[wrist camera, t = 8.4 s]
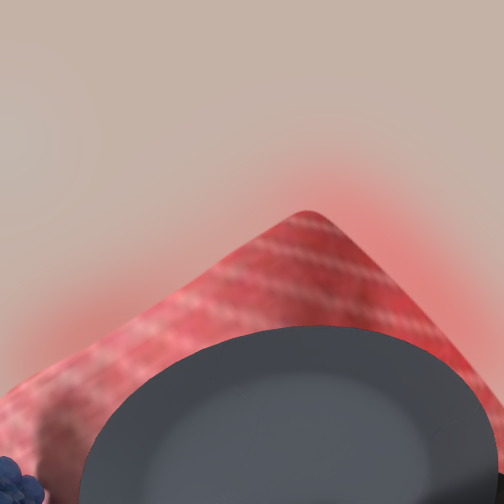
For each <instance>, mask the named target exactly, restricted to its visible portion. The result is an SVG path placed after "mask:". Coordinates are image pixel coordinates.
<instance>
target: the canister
mask: <svg viewBox="0 0 504 504" xmlns="http://www.w3.org/2000/svg"><path fill="white" fill-rule="evenodd" d="M497 484H498V454H497V447H496V442H495V438H494V433H493V430H492V427H491V425H490V422H489V419H488V417H487V414H486V412H485V410H484V409H483V407H482V405H481V403H480V402H479V400H478V398H477V397H476V395H475V394H474V392H473V391H472V390H471V389H470V388H469V386H468V385H467V384H466V383H465V381H464V380H463V379H462V378H461V377H460V376H459V375H458V374H457V373H455V372H454V371H453V370H452V369H451V368H450V367H449V366H448V365H446V364H445V363H444V362H442V361H441V360H439V359H438V358H436V357H435V356H433V355H432V354H430V353H428V352H427V351H425V350H423V349H421V348H419V347H417V346H414V345H412V344H410V343H408V342H406V341H404V340H400V339H397V338H394V337H391V336H388V335H385V334H382V333H378V332H373V331H367V330H362V329H357V328H350V327H336V326H297V327H287V328H281V329H273V330H266V331H261V332H257V333H253V334H249V335H245V336H241V337H236V338H232V339H230V340H227V341H224V342H221V343H219V344H216V345H213V346H210V347H208V348H205V349H202V350H200V351H198V352H196V353H194V354H192V355H190V356H188V357H186V358H184V359H182V360H180V361H178V362H176V363H174V364H172V365H171V366H169V367H168V368H166V369H165V370H163V371H162V372H160V373H158V374H157V375H155V376H154V377H152V378H151V379H149V380H148V381H147V382H146V383H145V384H143V385H142V386H141V387H140V388H139V389H137V390H136V391H135V392H134V393H133V394H131V395H130V396H129V397H128V398H127V399H126V400H125V401H124V402H123V403H122V404H121V406H120V407H119V408H118V409H117V410H116V411H115V412H114V413H113V414H112V415H111V417H110V418H109V419H108V421H107V422H106V424H105V425H104V427H103V428H102V430H101V431H100V433H99V434H98V436H97V437H96V439H95V442H94V444H93V446H92V448H91V450H90V452H89V455H88V457H87V459H86V462H85V466H84V470H83V474H82V477H81V481H80V492H79V504H494V502H495V497H496V493H497Z"/></svg>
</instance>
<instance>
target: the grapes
mask: <svg viewBox="0 0 504 504" xmlns="http://www.w3.org/2000/svg"><path fill="white" fill-rule="evenodd" d="M44 498H45V492H44V488H43V486H42V484H41V483H40V481H39V480H37V479H36V478H35V477H33V476H30V475H24V476H22V473H21V470H20V468H19V466H18V464H17V463H16V462H14V461H13V460H12V459H11V458H8V457H5V456H2V457H0V504H42V502H43V500H44Z"/></svg>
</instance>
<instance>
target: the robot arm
mask: <svg viewBox="0 0 504 504" xmlns="http://www.w3.org/2000/svg"><path fill="white" fill-rule="evenodd" d="M494 504H504V474H502V473H499V472H498V484H497V493H496V497H495V502H494Z"/></svg>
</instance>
